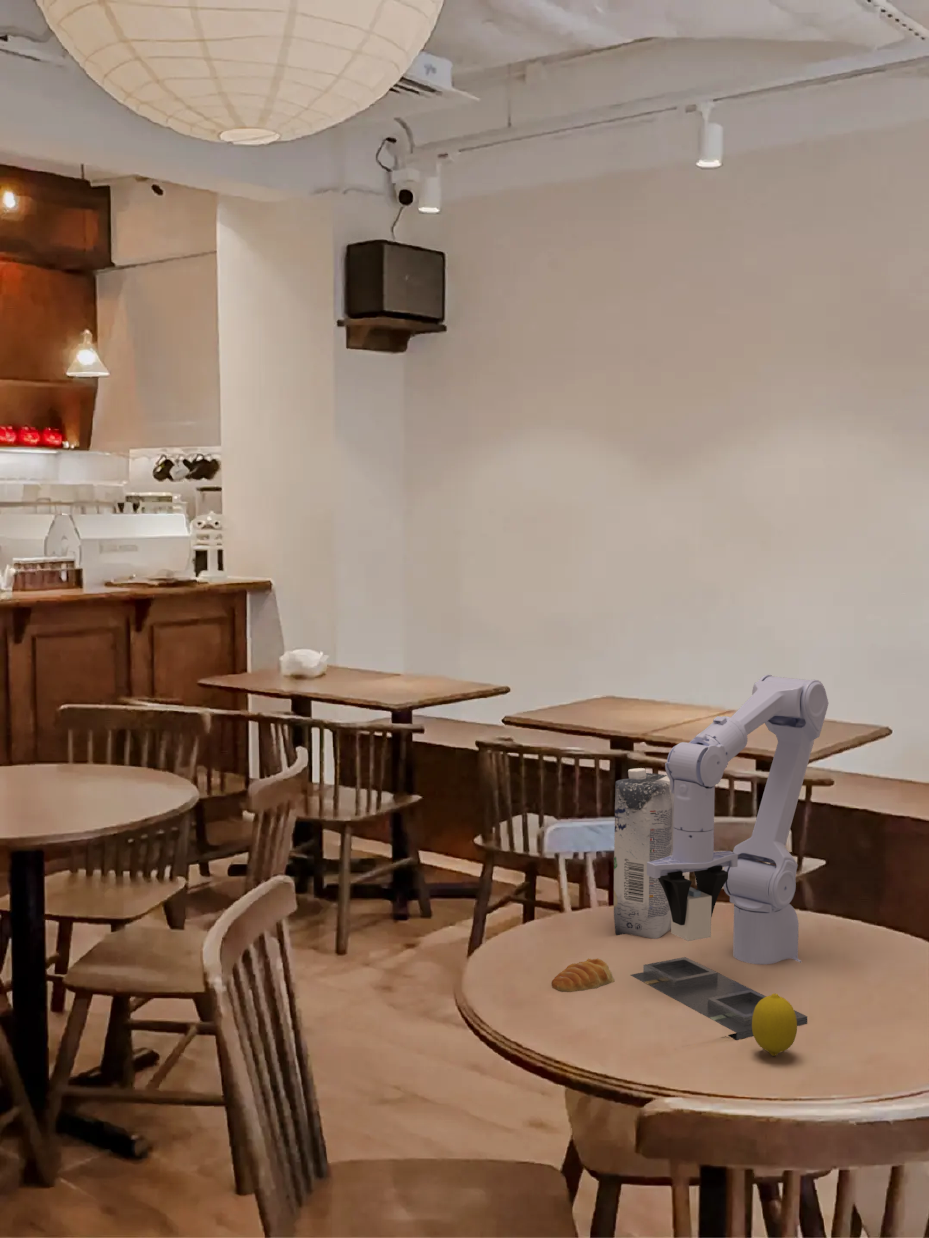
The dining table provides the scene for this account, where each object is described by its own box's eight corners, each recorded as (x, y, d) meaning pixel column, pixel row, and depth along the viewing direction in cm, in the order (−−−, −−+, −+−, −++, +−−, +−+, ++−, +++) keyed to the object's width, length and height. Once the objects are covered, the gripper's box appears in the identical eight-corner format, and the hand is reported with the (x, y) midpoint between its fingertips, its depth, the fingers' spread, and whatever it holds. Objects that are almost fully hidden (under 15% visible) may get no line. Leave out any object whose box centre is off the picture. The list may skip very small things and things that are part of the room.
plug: (693, 929, 188) (694, 884, 188) (710, 937, 185) (711, 891, 184) (671, 933, 187) (671, 887, 186) (687, 941, 183) (688, 894, 183)
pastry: (573, 1004, 181) (573, 978, 181) (539, 991, 186) (539, 966, 186) (618, 988, 187) (618, 962, 187) (583, 976, 192) (583, 951, 192)
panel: (696, 968, 195) (696, 954, 195) (807, 1023, 174) (807, 1007, 174) (630, 981, 189) (630, 966, 189) (736, 1039, 168) (736, 1023, 168)
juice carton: (684, 929, 213) (686, 767, 211) (658, 947, 205) (660, 778, 202) (634, 920, 218) (636, 762, 216) (607, 937, 209) (609, 772, 207)
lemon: (745, 1047, 166) (746, 986, 165) (787, 1046, 166) (789, 985, 166) (759, 1065, 160) (760, 1002, 160) (802, 1063, 161) (804, 1001, 160)
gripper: (717, 816, 191) (715, 906, 192) (635, 826, 185) (633, 919, 186) (747, 826, 185) (745, 919, 186) (664, 837, 179) (662, 933, 180)
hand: (691, 920), depth 186 cm, fingers closed on plug, 4 cm apart
